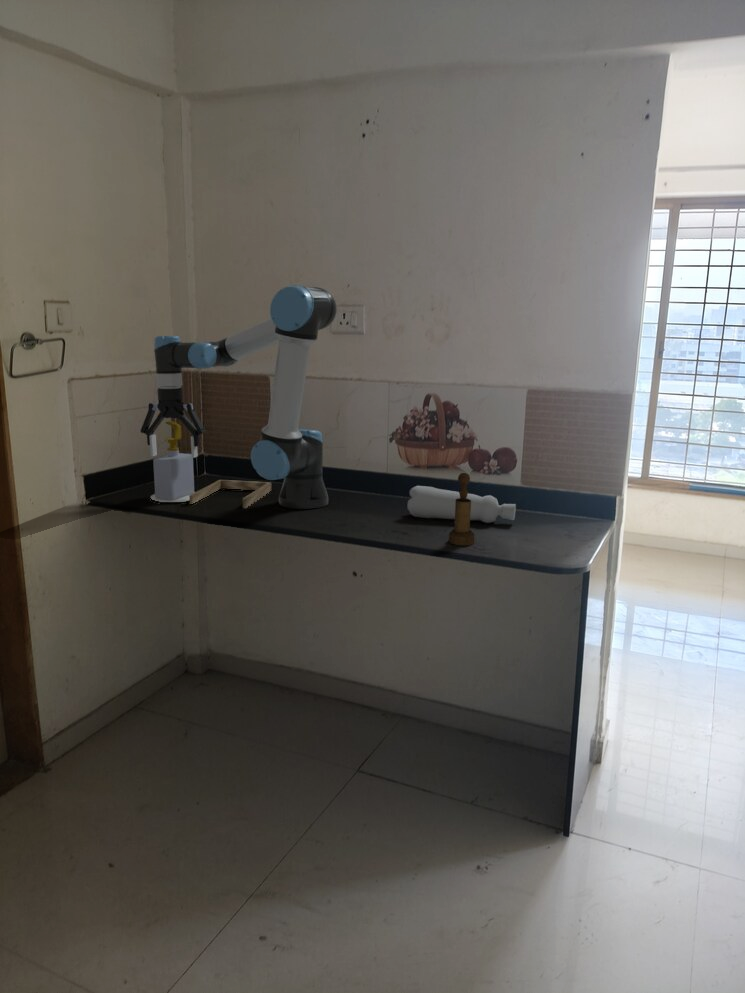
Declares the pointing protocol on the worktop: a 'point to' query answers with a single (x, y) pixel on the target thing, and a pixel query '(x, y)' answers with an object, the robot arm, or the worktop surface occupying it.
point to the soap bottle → (173, 470)
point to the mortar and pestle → (462, 516)
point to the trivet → (181, 499)
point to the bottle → (443, 505)
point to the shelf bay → (259, 488)
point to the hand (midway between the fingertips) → (174, 456)
